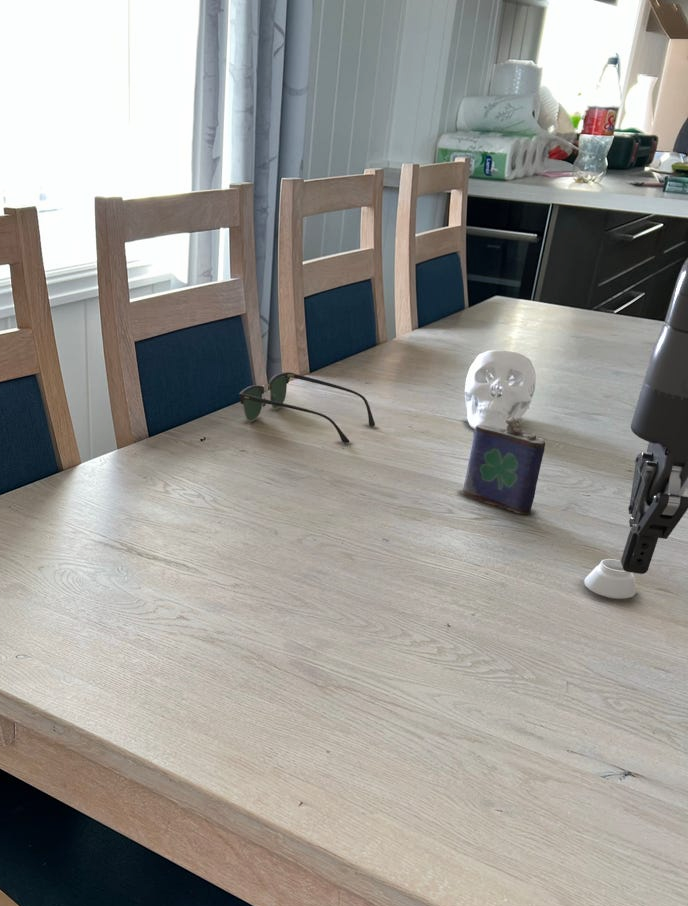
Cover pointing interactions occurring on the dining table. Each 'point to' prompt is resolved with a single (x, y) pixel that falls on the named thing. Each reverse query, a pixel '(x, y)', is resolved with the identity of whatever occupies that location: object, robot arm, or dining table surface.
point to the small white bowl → (611, 580)
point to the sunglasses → (278, 387)
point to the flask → (504, 466)
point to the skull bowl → (499, 388)
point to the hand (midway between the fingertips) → (632, 569)
